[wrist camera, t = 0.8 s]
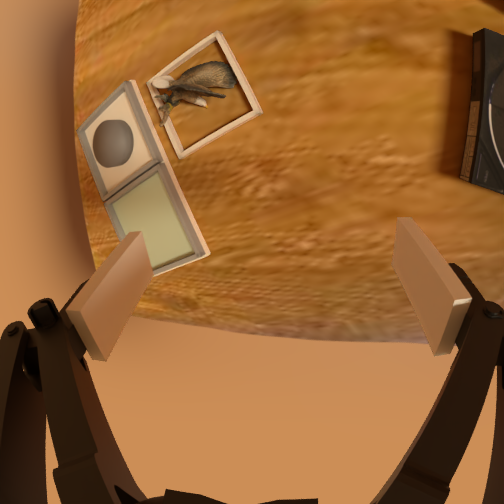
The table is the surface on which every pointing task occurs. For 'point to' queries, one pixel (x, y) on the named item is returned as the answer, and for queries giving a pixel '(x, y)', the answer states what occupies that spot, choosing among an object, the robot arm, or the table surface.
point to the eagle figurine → (194, 85)
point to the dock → (139, 180)
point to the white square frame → (238, 72)
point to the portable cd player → (486, 114)
